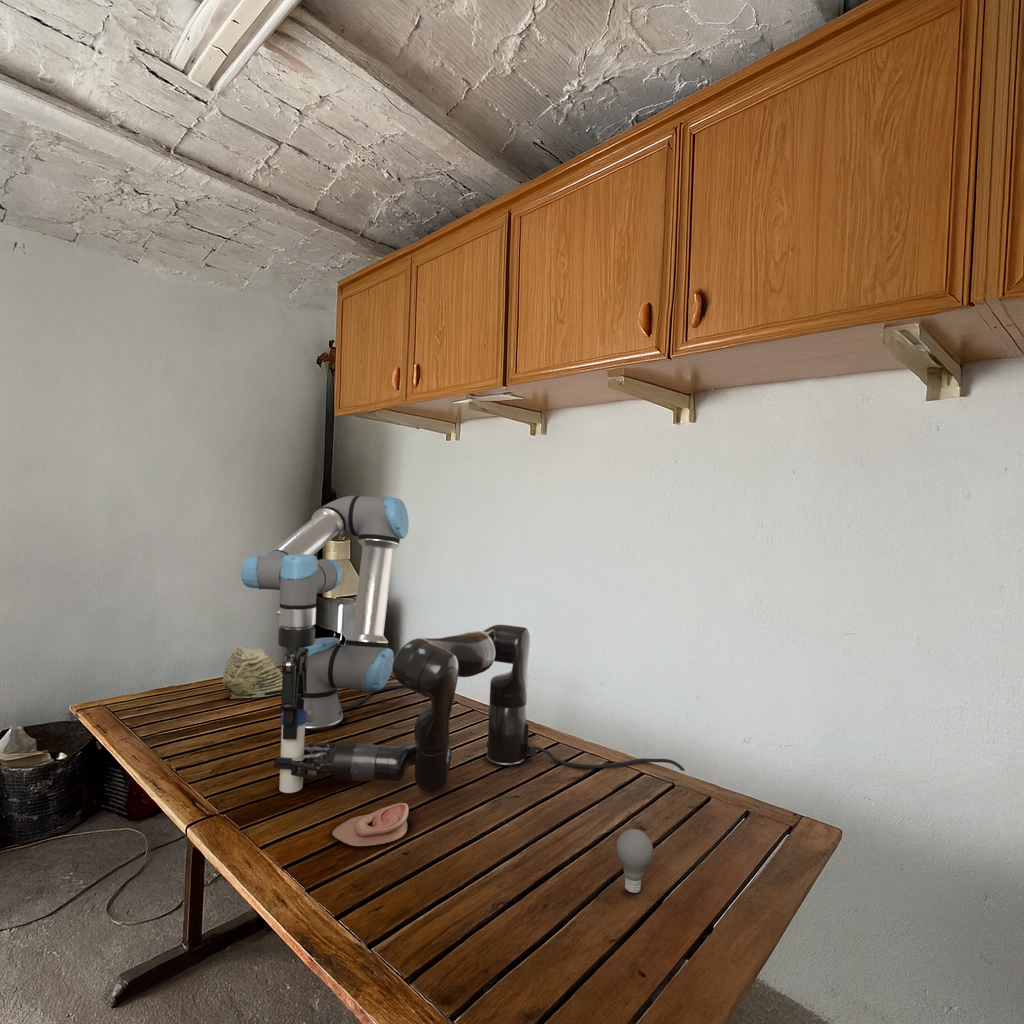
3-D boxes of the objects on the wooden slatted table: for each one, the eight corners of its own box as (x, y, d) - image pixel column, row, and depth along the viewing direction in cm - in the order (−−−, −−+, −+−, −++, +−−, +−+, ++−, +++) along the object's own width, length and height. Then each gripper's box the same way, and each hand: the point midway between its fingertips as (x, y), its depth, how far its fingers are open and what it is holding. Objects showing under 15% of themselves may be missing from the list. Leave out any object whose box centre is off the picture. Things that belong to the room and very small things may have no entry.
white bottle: (275, 792, 135) (278, 719, 135) (284, 782, 140) (287, 712, 139) (297, 793, 135) (300, 721, 134) (306, 783, 139) (308, 713, 139)
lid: (294, 716, 140) (295, 707, 140) (311, 721, 138) (311, 712, 138) (275, 722, 136) (275, 713, 136) (292, 728, 133) (292, 718, 133)
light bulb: (610, 879, 108) (613, 822, 108) (644, 879, 109) (647, 822, 109) (619, 902, 102) (622, 840, 102) (655, 901, 103) (658, 840, 103)
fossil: (218, 695, 195) (220, 647, 195) (278, 685, 208) (279, 640, 207) (228, 703, 189) (230, 653, 188) (289, 692, 201) (290, 645, 201)
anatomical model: (325, 820, 116) (352, 792, 127) (324, 841, 116) (352, 812, 128) (392, 830, 114) (415, 801, 125) (392, 852, 114) (414, 821, 125)
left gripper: (289, 618, 145) (286, 718, 146) (267, 635, 127) (262, 750, 128) (323, 618, 146) (319, 718, 146) (305, 636, 128) (301, 750, 128)
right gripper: (366, 732, 144) (292, 728, 144) (349, 758, 129) (266, 753, 130) (365, 765, 144) (291, 761, 144) (347, 794, 130) (265, 789, 130)
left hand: (293, 733), depth 137 cm, fingers closed on lid, 5 cm apart
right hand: (280, 757), depth 137 cm, fingers closed on white bottle, 4 cm apart
